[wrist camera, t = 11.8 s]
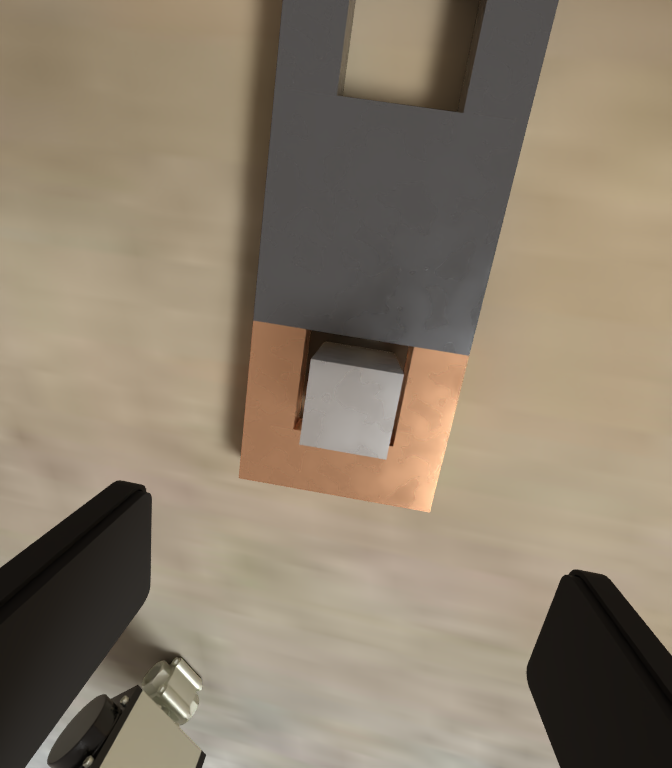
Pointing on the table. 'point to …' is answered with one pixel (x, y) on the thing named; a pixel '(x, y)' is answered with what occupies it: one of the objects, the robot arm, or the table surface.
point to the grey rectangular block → (351, 400)
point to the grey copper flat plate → (381, 239)
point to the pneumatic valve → (136, 725)
